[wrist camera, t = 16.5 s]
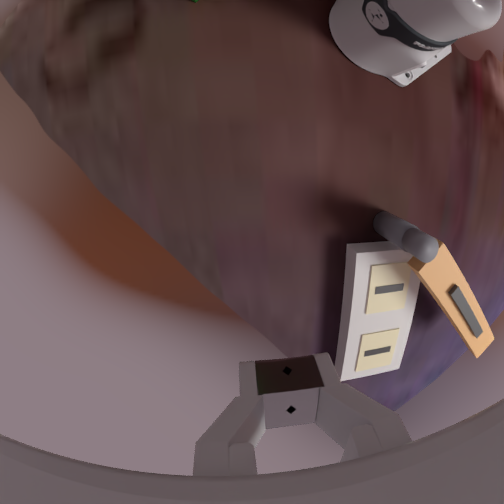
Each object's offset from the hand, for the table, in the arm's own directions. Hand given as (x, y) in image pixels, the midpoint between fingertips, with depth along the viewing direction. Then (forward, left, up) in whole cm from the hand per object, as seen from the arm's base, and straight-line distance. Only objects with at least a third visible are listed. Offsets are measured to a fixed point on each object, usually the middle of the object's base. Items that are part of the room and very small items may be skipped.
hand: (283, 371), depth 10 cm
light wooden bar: (-21, +27, -24) cm, 42 cm away
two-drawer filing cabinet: (-11, +24, -32) cm, 42 cm away
